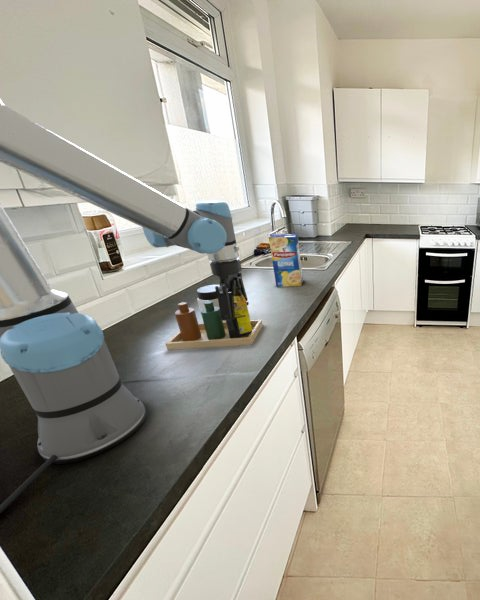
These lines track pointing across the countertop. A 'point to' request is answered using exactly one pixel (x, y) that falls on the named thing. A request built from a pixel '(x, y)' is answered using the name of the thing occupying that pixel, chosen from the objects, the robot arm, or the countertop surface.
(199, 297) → the jar
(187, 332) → the amber bottle
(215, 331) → the green bottle
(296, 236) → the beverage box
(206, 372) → the countertop surface
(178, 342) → the tray
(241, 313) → the supplement box
